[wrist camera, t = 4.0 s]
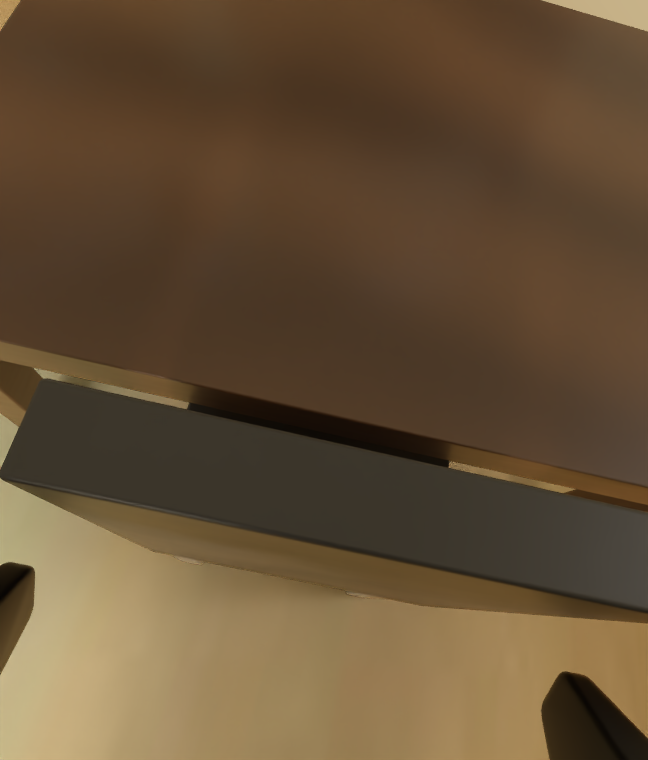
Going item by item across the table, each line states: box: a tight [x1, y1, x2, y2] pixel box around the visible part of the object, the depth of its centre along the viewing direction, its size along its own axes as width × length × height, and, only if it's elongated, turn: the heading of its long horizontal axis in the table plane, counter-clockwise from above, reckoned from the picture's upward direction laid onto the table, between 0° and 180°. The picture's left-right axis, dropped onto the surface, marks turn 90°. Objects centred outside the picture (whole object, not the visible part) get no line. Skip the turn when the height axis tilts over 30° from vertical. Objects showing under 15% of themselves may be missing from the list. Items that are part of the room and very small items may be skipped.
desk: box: [0, 0, 648, 512], centre depth 18 cm, size 16×20×10 cm
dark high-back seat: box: [0, 379, 648, 623], centre depth 13 cm, size 7×7×15 cm
